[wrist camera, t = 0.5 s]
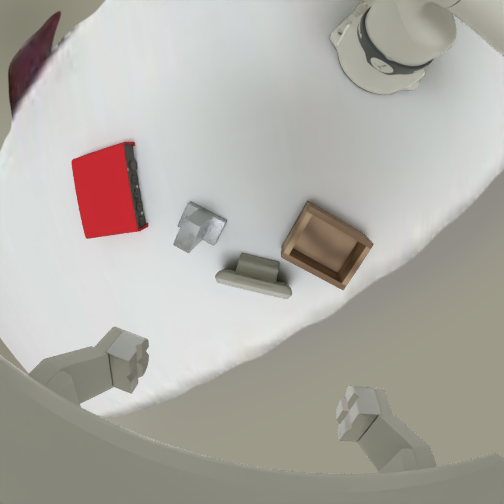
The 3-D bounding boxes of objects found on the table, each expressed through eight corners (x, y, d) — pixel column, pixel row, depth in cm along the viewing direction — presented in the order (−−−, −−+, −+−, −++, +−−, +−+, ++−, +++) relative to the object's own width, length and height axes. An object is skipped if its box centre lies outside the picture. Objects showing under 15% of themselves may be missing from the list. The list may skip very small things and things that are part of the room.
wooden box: (307, 200, 51) (310, 206, 46) (365, 234, 52) (373, 244, 46) (281, 246, 55) (280, 257, 49) (338, 277, 55) (343, 290, 50)
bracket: (190, 201, 54) (170, 211, 45) (226, 220, 55) (214, 234, 45) (180, 223, 56) (160, 237, 46) (216, 242, 56) (201, 260, 47)
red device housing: (149, 225, 57) (138, 232, 53) (98, 233, 59) (85, 239, 55) (135, 142, 52) (122, 141, 47) (84, 158, 54) (71, 159, 49)
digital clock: (219, 273, 58) (207, 293, 50) (232, 240, 56) (222, 256, 47) (280, 300, 59) (279, 324, 50) (297, 269, 56) (299, 290, 48)
